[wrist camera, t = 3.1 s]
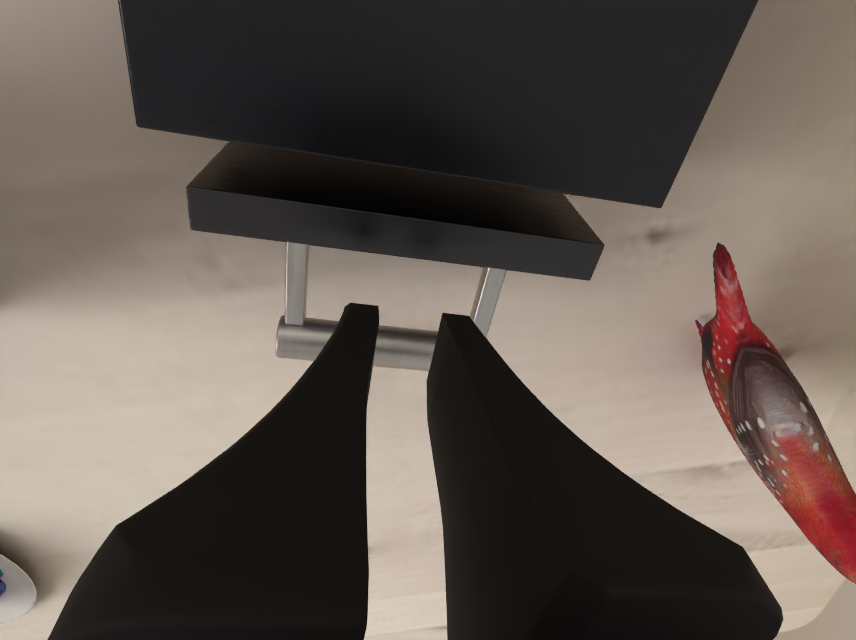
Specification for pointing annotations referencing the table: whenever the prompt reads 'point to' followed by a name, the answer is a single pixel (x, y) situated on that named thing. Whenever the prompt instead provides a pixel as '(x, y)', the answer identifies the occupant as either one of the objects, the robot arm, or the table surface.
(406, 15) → the small drawer cabinet
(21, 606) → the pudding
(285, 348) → the pull-out tray box
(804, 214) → the table surface
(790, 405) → the decorative bird figurine
